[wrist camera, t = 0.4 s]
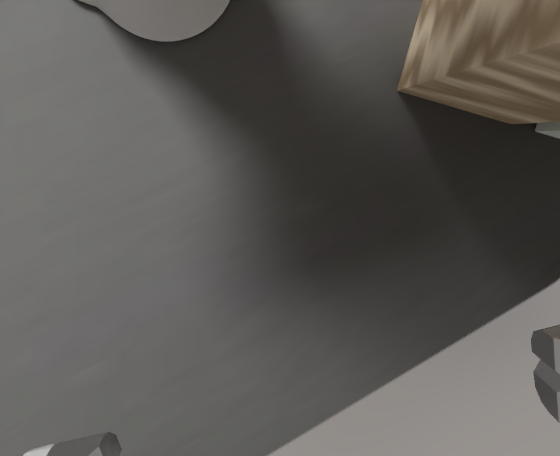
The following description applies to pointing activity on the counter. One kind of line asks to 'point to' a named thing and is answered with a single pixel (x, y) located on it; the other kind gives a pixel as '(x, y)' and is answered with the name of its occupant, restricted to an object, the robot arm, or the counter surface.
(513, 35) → the oak pedestal
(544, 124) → the pale grey block
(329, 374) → the counter surface
